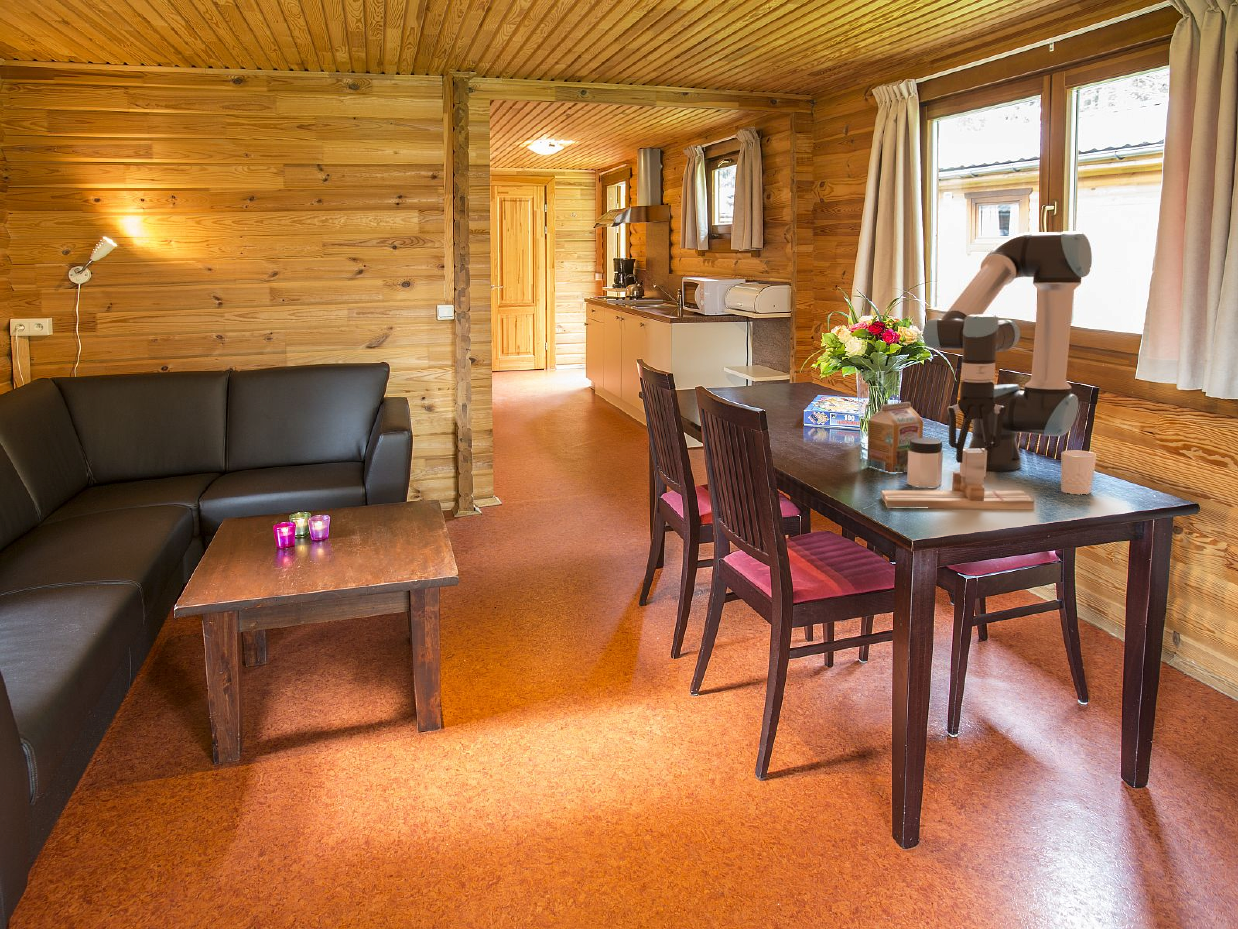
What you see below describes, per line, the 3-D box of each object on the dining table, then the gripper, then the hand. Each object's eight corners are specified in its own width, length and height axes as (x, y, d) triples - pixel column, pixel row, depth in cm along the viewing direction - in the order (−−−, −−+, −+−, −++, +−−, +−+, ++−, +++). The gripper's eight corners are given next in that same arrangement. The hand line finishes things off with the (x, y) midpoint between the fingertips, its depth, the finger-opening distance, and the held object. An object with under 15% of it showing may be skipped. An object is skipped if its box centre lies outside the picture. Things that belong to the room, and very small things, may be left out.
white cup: (1097, 496, 232) (1100, 456, 229) (1063, 495, 233) (1066, 456, 231) (1088, 488, 239) (1091, 450, 237) (1055, 487, 241) (1058, 450, 238)
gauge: (951, 494, 236) (954, 444, 233) (976, 494, 235) (979, 444, 232) (963, 508, 223) (966, 455, 220) (990, 508, 222) (993, 455, 219)
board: (881, 498, 236) (881, 490, 236) (1021, 498, 231) (1022, 490, 231) (886, 508, 226) (887, 500, 226) (1033, 509, 222) (1034, 500, 221)
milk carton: (895, 463, 274) (897, 399, 270) (921, 470, 264) (923, 404, 260) (867, 467, 269) (868, 402, 265) (892, 474, 260) (894, 407, 256)
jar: (948, 486, 246) (950, 441, 243) (924, 490, 242) (926, 445, 240) (923, 479, 253) (925, 436, 251) (900, 483, 250) (902, 439, 247)
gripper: (943, 382, 219) (939, 479, 224) (1019, 381, 217) (1013, 479, 222) (937, 378, 227) (933, 471, 232) (1011, 377, 224) (1005, 472, 229)
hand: (972, 475), depth 227 cm, fingers closed on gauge, 4 cm apart
